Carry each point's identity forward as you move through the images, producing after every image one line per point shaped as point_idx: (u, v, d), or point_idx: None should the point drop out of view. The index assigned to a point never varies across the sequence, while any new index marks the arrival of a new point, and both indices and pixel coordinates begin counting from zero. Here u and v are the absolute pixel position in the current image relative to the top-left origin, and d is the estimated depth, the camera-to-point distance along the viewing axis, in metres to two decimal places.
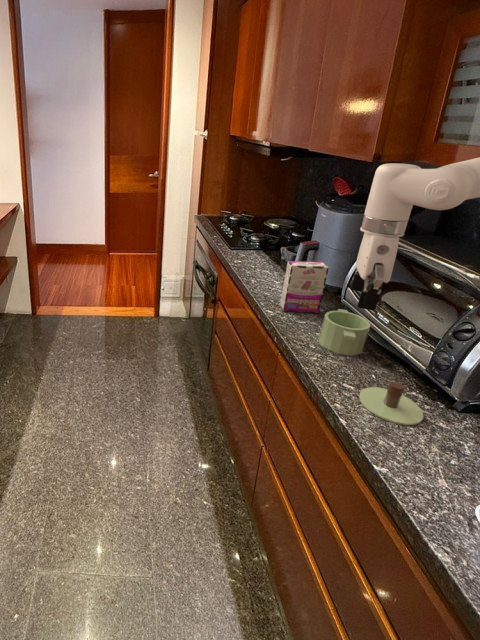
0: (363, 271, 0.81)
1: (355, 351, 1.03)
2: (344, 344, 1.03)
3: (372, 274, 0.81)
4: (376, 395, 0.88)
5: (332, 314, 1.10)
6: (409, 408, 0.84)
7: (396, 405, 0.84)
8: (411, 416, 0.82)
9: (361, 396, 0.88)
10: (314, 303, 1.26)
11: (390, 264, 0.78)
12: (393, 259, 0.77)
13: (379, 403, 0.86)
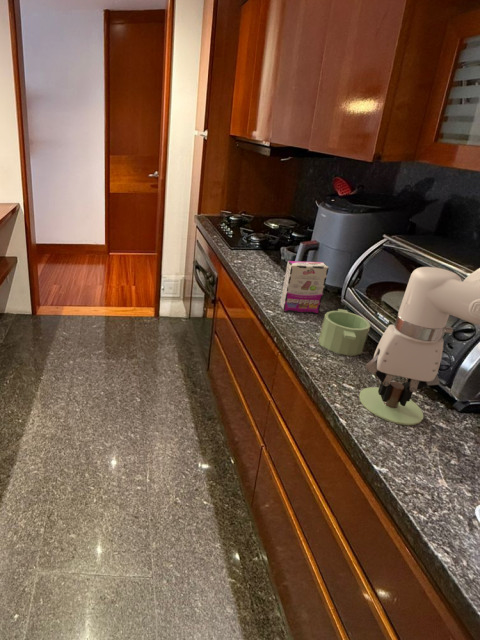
0: (431, 375, 0.78)
1: (355, 351, 1.03)
2: (344, 344, 1.03)
3: None
4: (376, 395, 0.88)
5: (332, 314, 1.10)
6: (409, 408, 0.84)
7: (396, 405, 0.84)
8: (411, 416, 0.82)
9: (361, 396, 0.88)
10: (314, 303, 1.26)
11: None
12: None
13: (379, 403, 0.86)
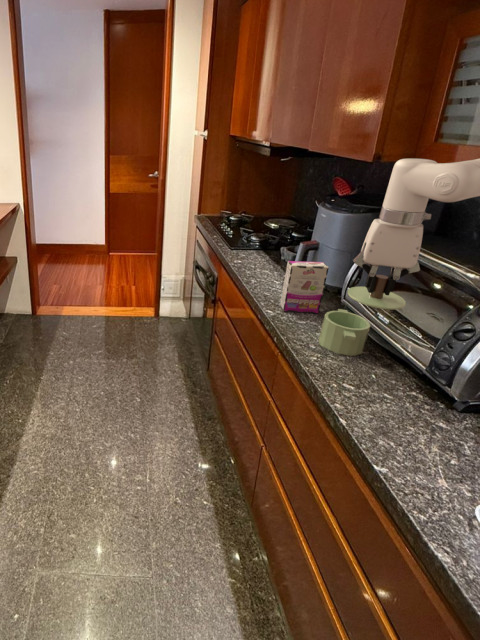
0: (412, 261, 0.86)
1: (355, 351, 1.03)
2: (344, 344, 1.03)
3: None
4: (363, 291, 0.96)
5: (332, 314, 1.10)
6: (392, 298, 0.92)
7: (381, 295, 0.92)
8: (394, 303, 0.89)
9: (349, 291, 0.95)
10: (314, 303, 1.26)
11: None
12: None
13: (366, 296, 0.93)
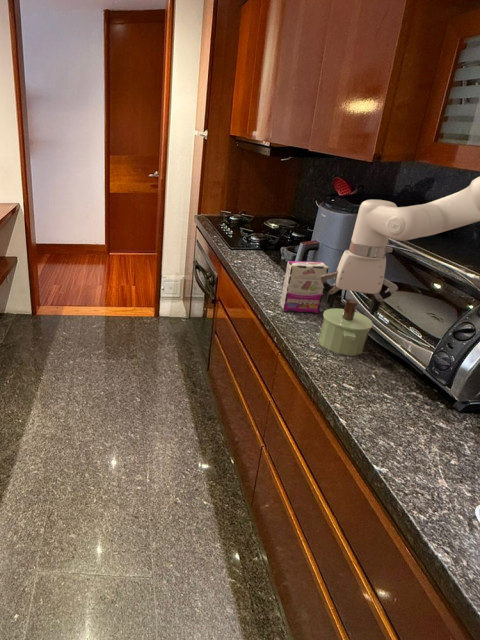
0: (377, 287, 0.98)
1: (355, 351, 1.03)
2: (344, 344, 1.03)
3: None
4: (337, 313, 1.08)
5: None
6: (362, 320, 1.04)
7: (351, 318, 1.04)
8: (363, 325, 1.02)
9: (324, 313, 1.08)
10: (314, 303, 1.26)
11: None
12: None
13: (338, 317, 1.06)
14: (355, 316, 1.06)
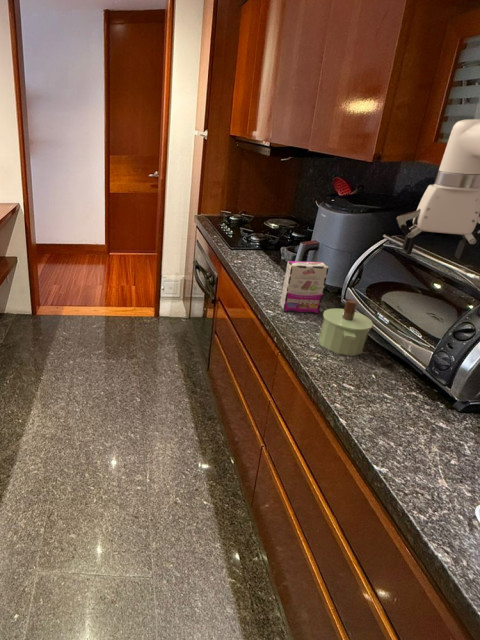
0: (471, 226, 0.83)
1: (355, 351, 1.03)
2: (344, 344, 1.03)
3: None
4: (337, 313, 1.08)
5: None
6: (362, 320, 1.04)
7: (351, 318, 1.04)
8: (363, 325, 1.02)
9: (324, 313, 1.08)
10: (314, 303, 1.26)
11: None
12: None
13: (338, 317, 1.06)
14: (355, 316, 1.06)
